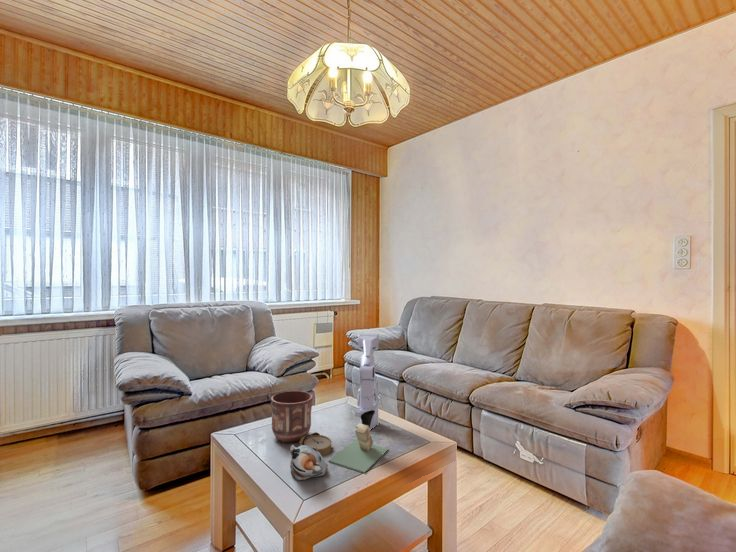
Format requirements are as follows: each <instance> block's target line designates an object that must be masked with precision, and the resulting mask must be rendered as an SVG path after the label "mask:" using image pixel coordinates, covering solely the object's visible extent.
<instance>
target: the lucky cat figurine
mask: <svg viewBox="0 0 736 552" xmlns="http://www.w3.org/2000/svg"><path fill="white" fill-rule="evenodd" d="M289 447H290V449H289V451H290V455H291V460H290V465H289V468H290V473H291V476H292V477H293V478H295V479H296V480H297V481H301V480H308V479H310V478H315V477H323V476H326V474H327V471H328V467H329V465H328V464H327V462H326V461H325V459H324V457H323V456H321V454H320V453H319V452H318V451H317V448H316V447H315V446H314V447H313V449H312V448H310V447H309V446H307V445H301V446H300V445H299V446H297V447H296V445H295V444H292V445H291V446H289Z"/></svg>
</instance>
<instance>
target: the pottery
mask: <svg viewBox="0 0 736 552" xmlns="http://www.w3.org/2000/svg"><path fill="white" fill-rule="evenodd" d="M313 397H314V396H313V394H312V393H310V392H307V391H303V390H285V391H280V392H277V393H275V394H273V395H272V396H271V398H270V407H271V431H272V433H273V435H274V436H275V438H276V439H277V440H278V441H279V442H280V443H284V444H293V443H299V441H300V440H301V437H302V436H304V435H309V432H310V431H311V427H312V406H313V399H314V398H313Z"/></svg>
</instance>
